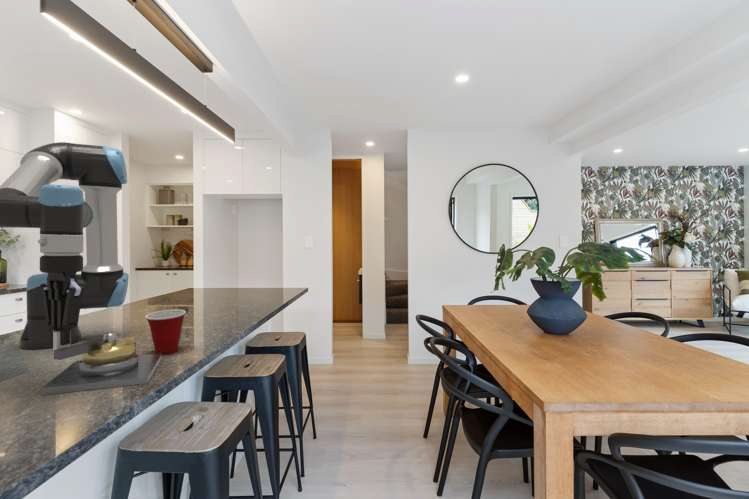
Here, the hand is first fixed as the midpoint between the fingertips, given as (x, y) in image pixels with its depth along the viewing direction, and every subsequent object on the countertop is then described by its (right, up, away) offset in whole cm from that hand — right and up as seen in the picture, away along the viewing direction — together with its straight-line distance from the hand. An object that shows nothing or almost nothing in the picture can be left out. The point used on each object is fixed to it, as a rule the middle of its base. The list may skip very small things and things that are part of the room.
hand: (62, 358), depth 84 cm
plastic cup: (+8, -7, +28) cm, 30 cm away
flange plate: (+5, -7, +9) cm, 12 cm away
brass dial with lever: (+4, -2, +6) cm, 7 cm away
